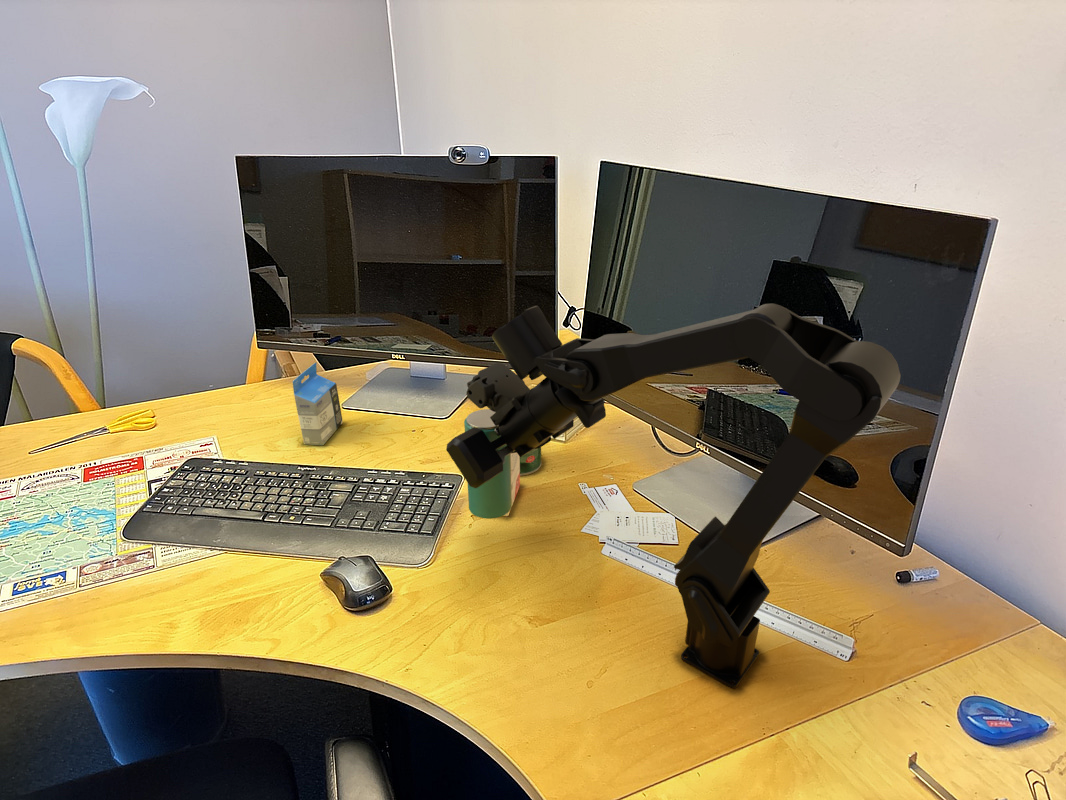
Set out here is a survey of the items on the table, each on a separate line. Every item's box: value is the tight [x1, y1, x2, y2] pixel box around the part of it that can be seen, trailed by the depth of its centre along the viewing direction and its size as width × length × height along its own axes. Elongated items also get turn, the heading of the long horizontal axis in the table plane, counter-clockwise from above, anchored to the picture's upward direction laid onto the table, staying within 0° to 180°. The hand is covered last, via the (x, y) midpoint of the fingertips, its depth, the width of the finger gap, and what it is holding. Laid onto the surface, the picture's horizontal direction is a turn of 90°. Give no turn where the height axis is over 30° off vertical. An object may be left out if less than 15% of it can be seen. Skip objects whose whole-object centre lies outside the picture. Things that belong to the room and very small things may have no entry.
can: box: [463, 408, 513, 520], centre depth 88 cm, size 6×6×13 cm
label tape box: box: [291, 361, 344, 446], centre depth 120 cm, size 9×4×12 cm, turn 171°
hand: (481, 460), depth 89 cm, fingers closed on can, 6 cm apart
